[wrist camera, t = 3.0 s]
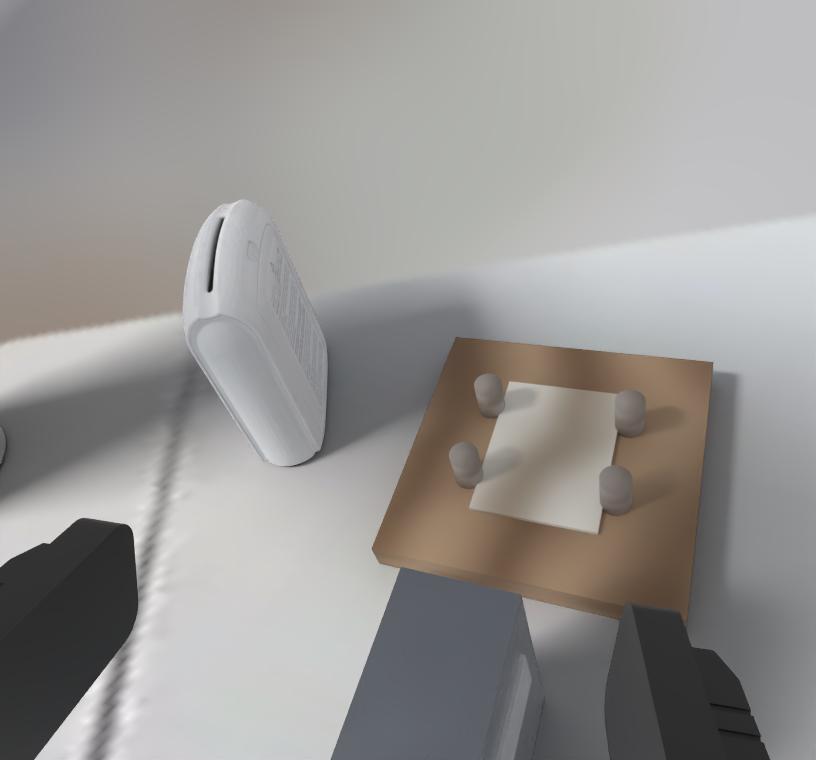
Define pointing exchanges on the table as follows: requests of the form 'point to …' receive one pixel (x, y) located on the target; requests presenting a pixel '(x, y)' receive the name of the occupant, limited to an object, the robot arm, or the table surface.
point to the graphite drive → (446, 677)
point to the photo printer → (257, 333)
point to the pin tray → (556, 476)
